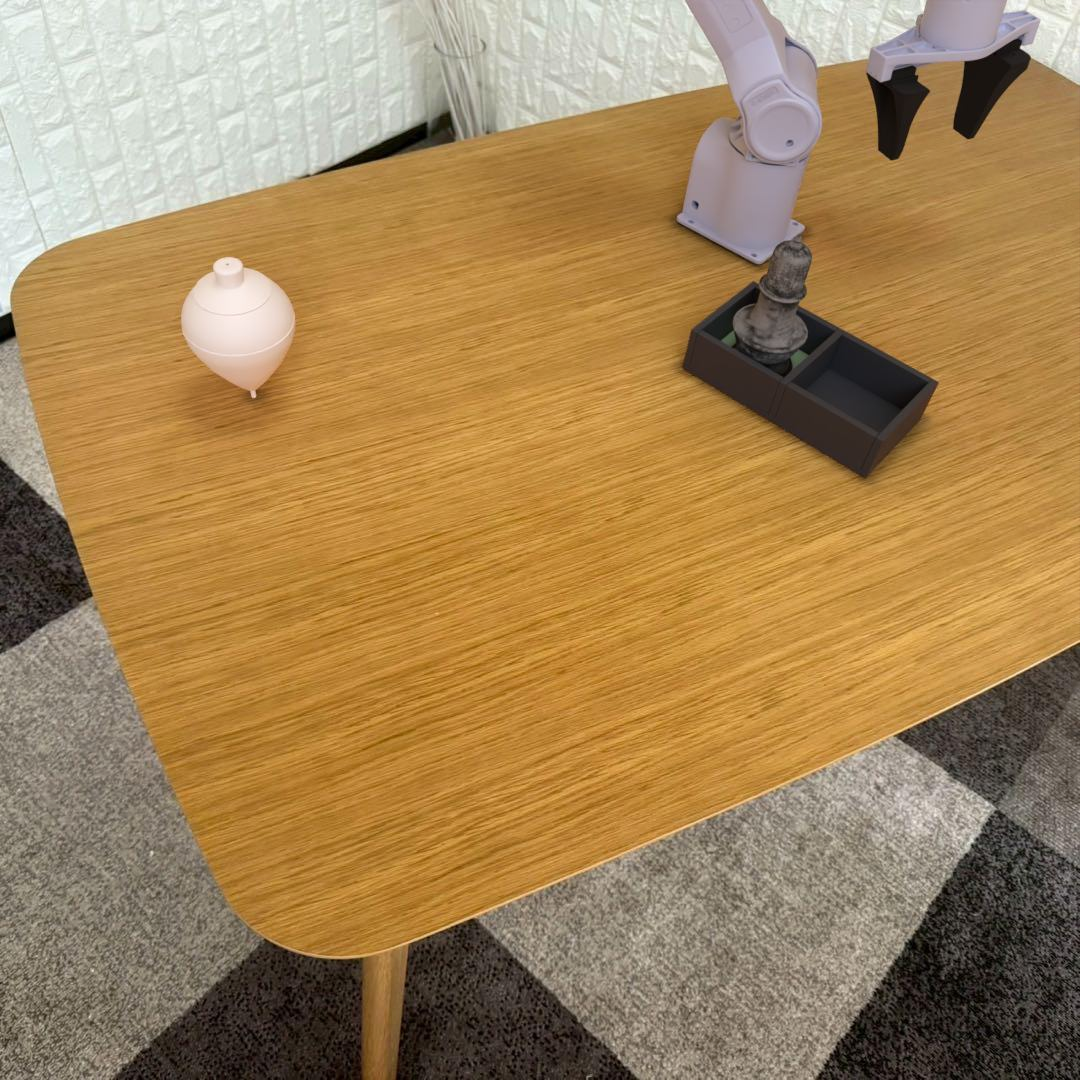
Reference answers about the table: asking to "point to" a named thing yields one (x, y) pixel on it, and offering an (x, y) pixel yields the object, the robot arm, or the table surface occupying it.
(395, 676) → the table surface
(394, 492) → the table surface
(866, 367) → the divided box
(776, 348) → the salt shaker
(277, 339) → the spinning top
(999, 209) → the table surface
